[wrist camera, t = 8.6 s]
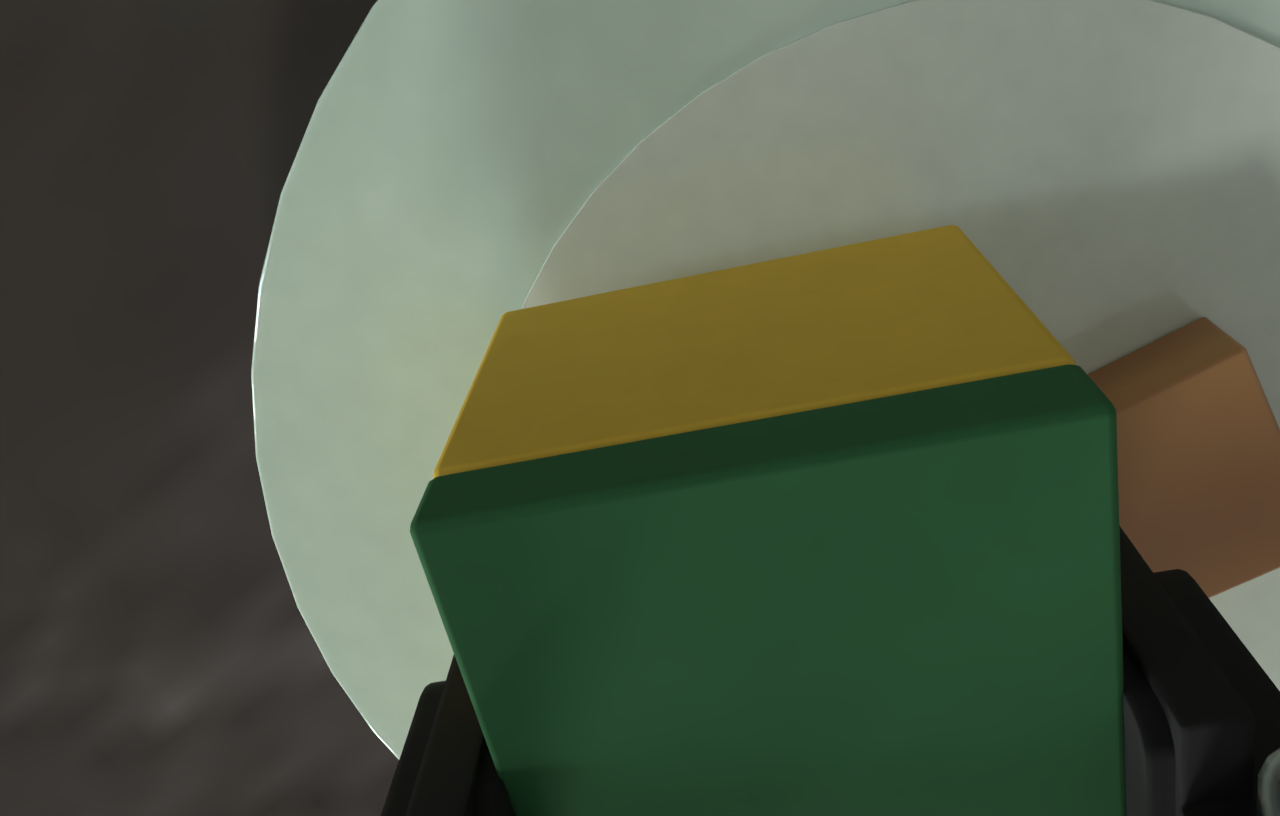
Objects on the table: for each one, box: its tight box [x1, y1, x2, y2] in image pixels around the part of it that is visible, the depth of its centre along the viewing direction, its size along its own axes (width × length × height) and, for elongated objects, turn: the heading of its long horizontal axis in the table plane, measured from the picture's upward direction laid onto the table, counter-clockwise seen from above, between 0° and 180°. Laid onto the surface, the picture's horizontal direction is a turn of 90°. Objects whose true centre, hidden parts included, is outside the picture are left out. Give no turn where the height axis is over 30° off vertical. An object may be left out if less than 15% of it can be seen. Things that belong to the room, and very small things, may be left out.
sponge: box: [410, 225, 1126, 816], centre depth 11 cm, size 8×5×4 cm, turn 12°
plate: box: [251, 0, 1280, 759], centre depth 14 cm, size 18×18×1 cm
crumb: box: [1087, 317, 1280, 598], centre depth 13 cm, size 3×3×1 cm
